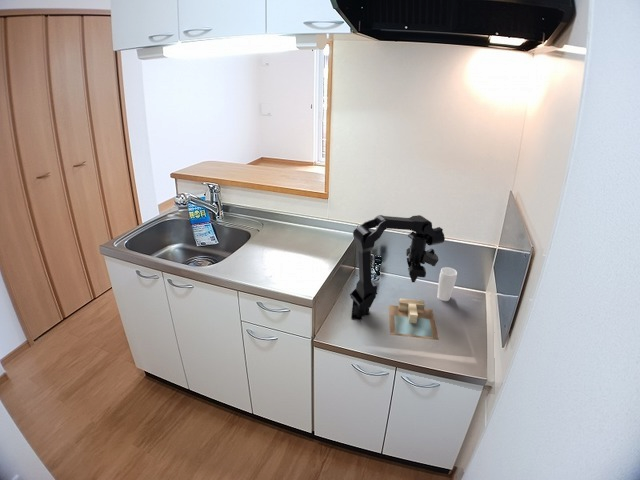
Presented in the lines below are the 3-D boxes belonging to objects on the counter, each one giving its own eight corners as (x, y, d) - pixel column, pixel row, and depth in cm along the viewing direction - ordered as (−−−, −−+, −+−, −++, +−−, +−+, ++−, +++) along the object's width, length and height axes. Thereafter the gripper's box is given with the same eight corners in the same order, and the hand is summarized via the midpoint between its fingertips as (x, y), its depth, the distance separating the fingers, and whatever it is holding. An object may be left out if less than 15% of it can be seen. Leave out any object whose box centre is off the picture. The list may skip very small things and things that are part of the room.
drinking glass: (451, 305, 155) (458, 276, 148) (435, 303, 156) (441, 274, 149) (449, 296, 161) (456, 268, 154) (434, 294, 162) (440, 266, 155)
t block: (398, 306, 152) (399, 298, 150) (422, 308, 150) (424, 300, 149) (399, 321, 143) (400, 313, 141) (425, 324, 142) (426, 316, 140)
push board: (389, 337, 137) (390, 334, 136) (388, 307, 153) (388, 305, 152) (438, 342, 135) (438, 339, 134) (431, 312, 151) (432, 309, 150)
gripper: (442, 260, 135) (435, 294, 142) (435, 237, 151) (429, 269, 158) (412, 257, 136) (406, 291, 143) (408, 235, 152) (403, 266, 159)
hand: (412, 279), depth 151 cm, fingers open, 4 cm apart
